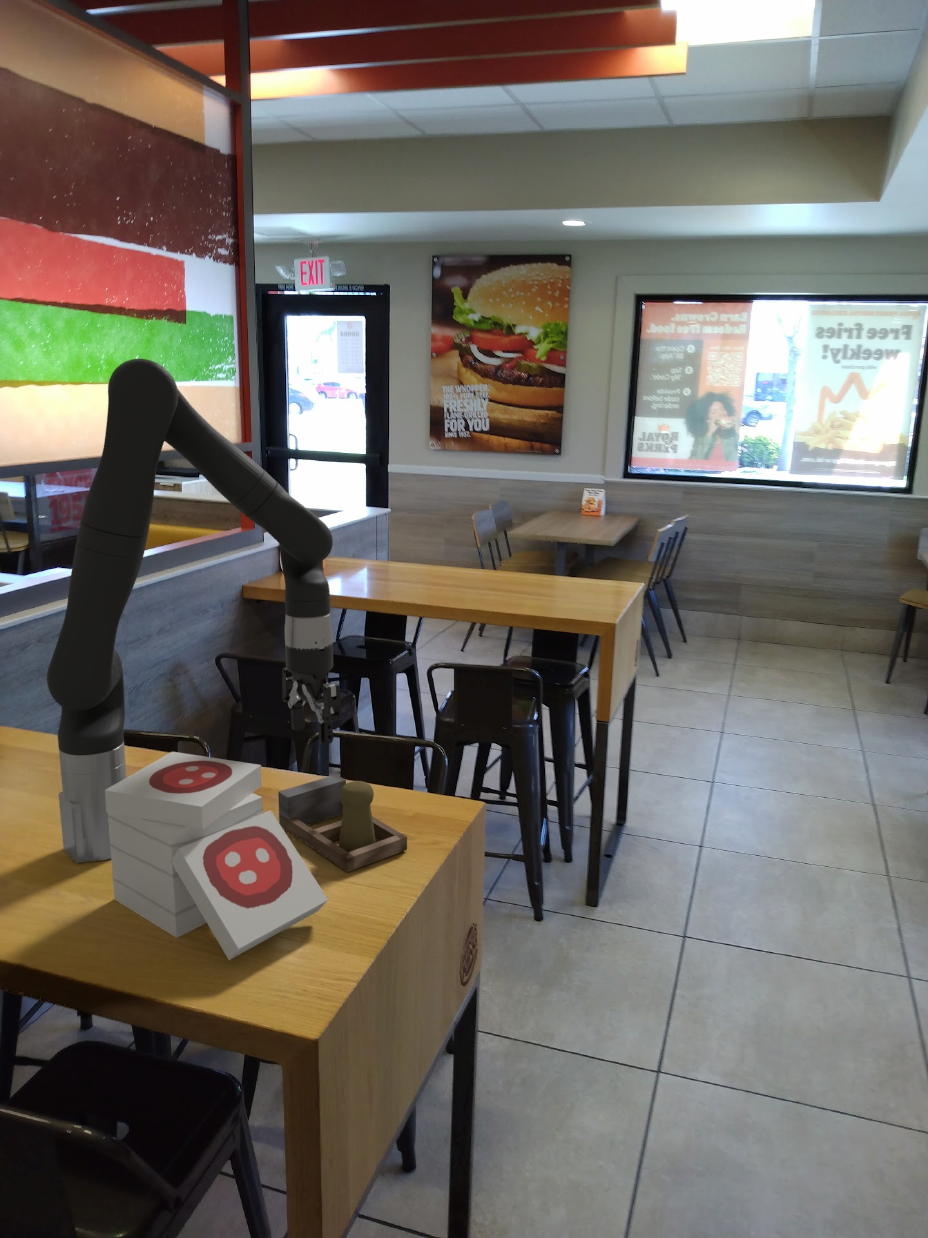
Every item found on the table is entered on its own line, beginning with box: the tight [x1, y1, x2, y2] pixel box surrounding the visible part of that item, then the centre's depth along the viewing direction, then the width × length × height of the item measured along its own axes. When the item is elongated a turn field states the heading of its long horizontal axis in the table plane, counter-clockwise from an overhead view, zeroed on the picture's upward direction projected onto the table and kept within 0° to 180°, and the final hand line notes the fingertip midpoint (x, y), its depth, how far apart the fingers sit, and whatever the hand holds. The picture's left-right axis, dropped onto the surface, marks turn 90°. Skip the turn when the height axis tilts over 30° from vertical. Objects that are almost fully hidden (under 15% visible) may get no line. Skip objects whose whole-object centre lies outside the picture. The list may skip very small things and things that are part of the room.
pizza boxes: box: [105, 751, 329, 961], centre depth 126 cm, size 19×30×18 cm, turn 51°
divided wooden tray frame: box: [277, 774, 408, 873], centre depth 148 cm, size 11×20×6 cm, turn 41°
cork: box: [338, 780, 376, 852], centre depth 144 cm, size 6×6×11 cm
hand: (312, 736), depth 151 cm, fingers open, 8 cm apart
